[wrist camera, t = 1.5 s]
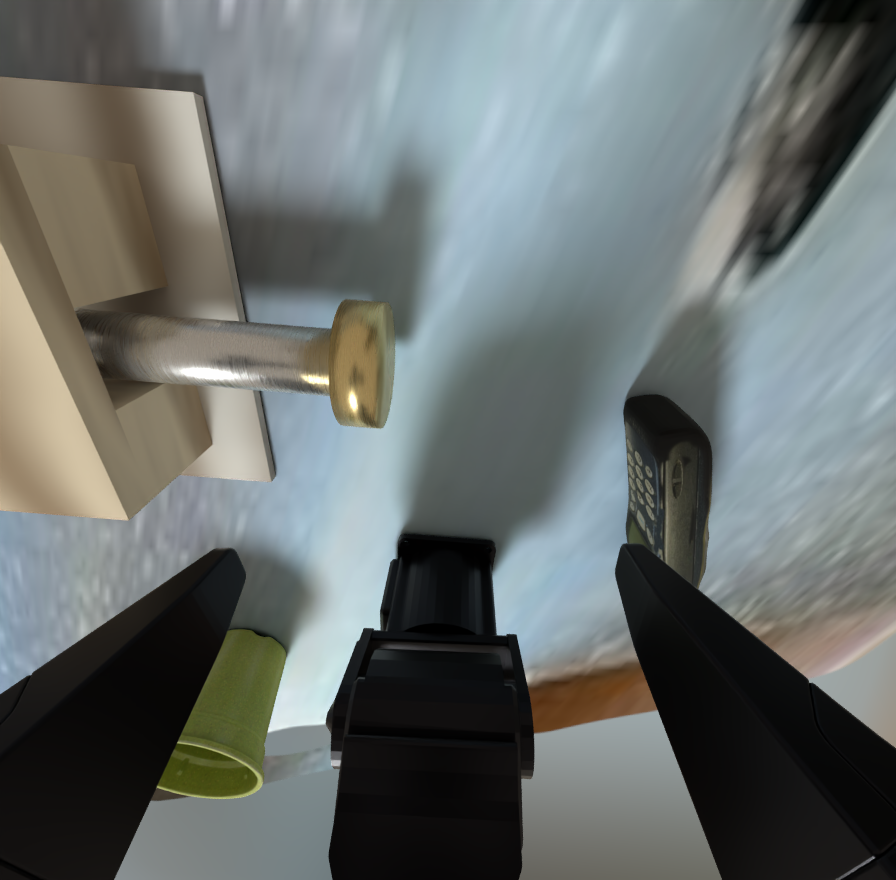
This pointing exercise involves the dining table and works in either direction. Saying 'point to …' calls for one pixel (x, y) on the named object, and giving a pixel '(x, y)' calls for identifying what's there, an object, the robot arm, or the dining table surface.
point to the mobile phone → (668, 484)
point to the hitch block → (110, 298)
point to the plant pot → (229, 722)
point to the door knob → (257, 355)
